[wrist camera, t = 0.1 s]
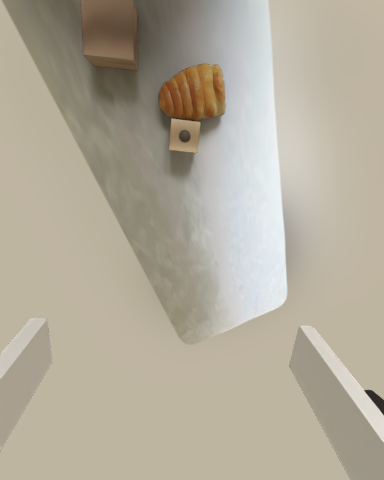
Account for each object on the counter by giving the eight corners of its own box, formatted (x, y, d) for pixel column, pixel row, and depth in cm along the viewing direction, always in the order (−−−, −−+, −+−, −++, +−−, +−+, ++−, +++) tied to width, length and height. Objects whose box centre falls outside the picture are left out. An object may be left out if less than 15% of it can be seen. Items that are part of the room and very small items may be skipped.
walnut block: (92, 13, 34) (80, -7, 30) (138, 18, 34) (133, -1, 30) (94, 66, 36) (83, 54, 31) (138, 70, 36) (133, 59, 32)
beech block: (171, 121, 38) (171, 118, 35) (198, 125, 39) (200, 122, 35) (169, 149, 40) (168, 149, 36) (195, 152, 40) (197, 152, 36)
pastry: (164, 128, 38) (163, 127, 35) (153, 77, 36) (150, 69, 32) (226, 115, 38) (231, 112, 35) (219, 62, 36) (223, 53, 32)
